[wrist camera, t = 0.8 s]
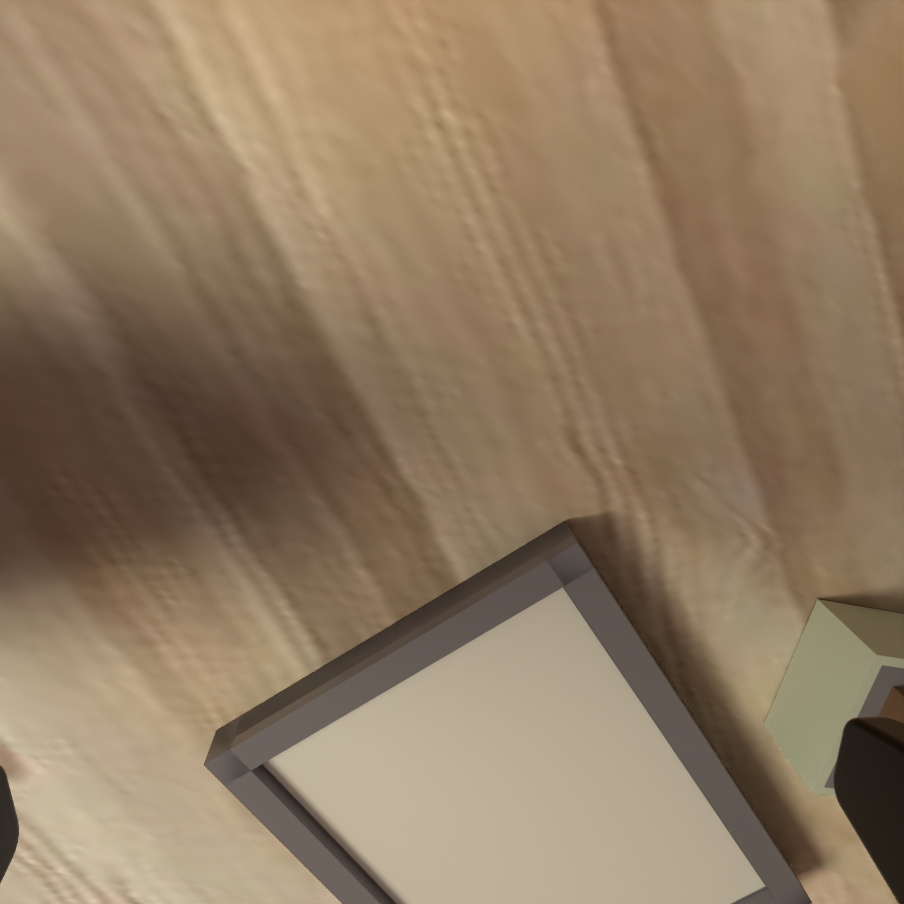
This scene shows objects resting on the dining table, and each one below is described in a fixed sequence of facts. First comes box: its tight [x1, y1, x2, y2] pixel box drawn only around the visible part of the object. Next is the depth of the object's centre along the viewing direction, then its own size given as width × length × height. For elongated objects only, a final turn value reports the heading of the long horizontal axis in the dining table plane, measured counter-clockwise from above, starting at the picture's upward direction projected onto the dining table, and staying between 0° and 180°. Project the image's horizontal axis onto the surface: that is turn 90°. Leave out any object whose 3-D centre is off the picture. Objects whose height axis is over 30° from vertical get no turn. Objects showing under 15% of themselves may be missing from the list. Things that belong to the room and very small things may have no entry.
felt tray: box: [204, 521, 812, 904], centre depth 24 cm, size 13×17×2 cm
